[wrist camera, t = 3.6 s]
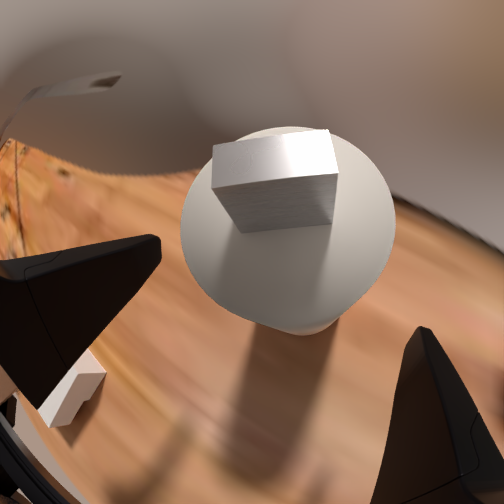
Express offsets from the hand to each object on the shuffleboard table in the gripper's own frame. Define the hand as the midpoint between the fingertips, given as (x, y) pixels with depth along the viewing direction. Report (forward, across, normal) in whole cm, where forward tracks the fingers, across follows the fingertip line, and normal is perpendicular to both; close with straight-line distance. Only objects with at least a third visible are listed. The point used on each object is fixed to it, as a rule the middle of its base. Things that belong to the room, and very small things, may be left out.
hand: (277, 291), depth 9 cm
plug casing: (+7, 0, +6) cm, 9 cm away
